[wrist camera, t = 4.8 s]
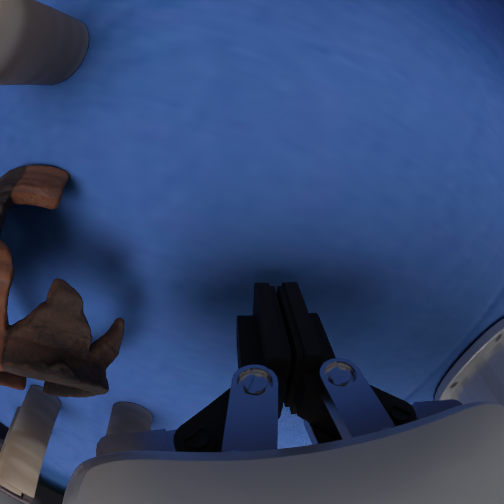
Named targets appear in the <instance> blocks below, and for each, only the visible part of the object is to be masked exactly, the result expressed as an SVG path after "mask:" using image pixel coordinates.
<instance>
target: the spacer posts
mask: <svg viewBox="0 0 504 504" xmlns="http://www.w3.org/2000/svg"><path fill="white" fill-rule="evenodd" d="M88 44H89V34H88V30H87V28H86V26H85V25H84V24H83V23H82V22H81V21H79V20H77V19H75V18H73V17H71V16H69V15H67V14H65V13H62V12H60V11H58V10H56V9H54V8H51V7H49V6H47V5H44V4H42V3H40V2H37V1H35V0H0V85H54V84H58V83H60V82H62V81H64V80H66V79H67V78H69V77H70V76H71V75H72V74H73V73H74V72H75V71H76V70H77V69H78V67H79V66H80V65H81V63H82V61H83V59H84V57H85V55H86V52H87V49H88ZM60 407H61V403H60V401H59V399H58V398H57V397H56V396H52V395H46V394H45V393H44V392H43V387H40V386H37V385H31V386H30V388H29V390H28V392H27V395H26V397H25V399H24V401H23V404H22V406H21V407H18V408H17V410H16V412H15V415H14V417H13V420H12V422H11V425H10V427H9V430H8V432H7V435H6V438H5V440H4V443H3V446H2V449H1V452H0V485H1V486H3V487H4V488H6V489H8V490H10V491H11V492H13V493H15V494H17V495H19V496H21V494H22V493H24V494H26V495H28V496H30V497H34V494H35V489H36V486H37V482H38V478H39V474H40V470H41V466H42V462H43V459H44V455H45V452H46V449H47V445H48V442H49V439H50V436H51V433H52V430H53V427H54V424H55V421H56V418H57V415H58V412H59V409H60ZM151 424H152V414H151V413H150V412H149V411H148V410H147V409H145V408H143V407H141V406H139V405H137V404H133V403H129V402H118V403H116V404H114V405H113V408H112V412H111V416H110V420H109V425H108V429H107V433H106V435H109V434H116V433H131V432H142V431H151Z"/></svg>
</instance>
